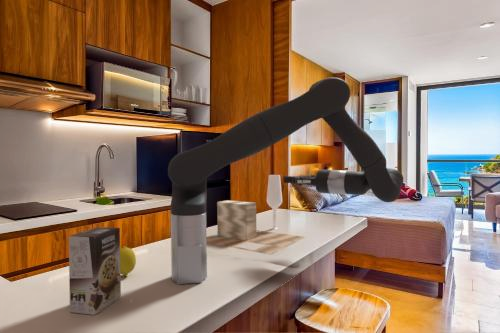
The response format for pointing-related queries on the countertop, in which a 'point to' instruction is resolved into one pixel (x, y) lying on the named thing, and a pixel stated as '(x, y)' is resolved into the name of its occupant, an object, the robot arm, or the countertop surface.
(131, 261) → the lemon
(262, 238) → the trap deck
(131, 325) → the countertop surface
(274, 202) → the champagne flute
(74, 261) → the grey snack box
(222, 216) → the birch block
